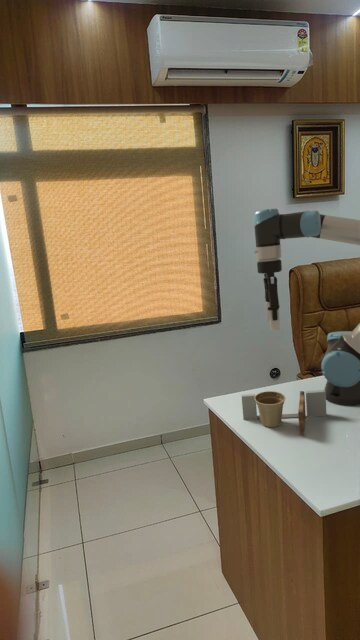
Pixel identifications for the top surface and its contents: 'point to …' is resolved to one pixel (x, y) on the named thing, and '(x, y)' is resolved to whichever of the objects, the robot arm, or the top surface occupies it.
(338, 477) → the top surface
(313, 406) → the wall
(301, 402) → the door
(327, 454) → the top surface
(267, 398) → the flower pot
